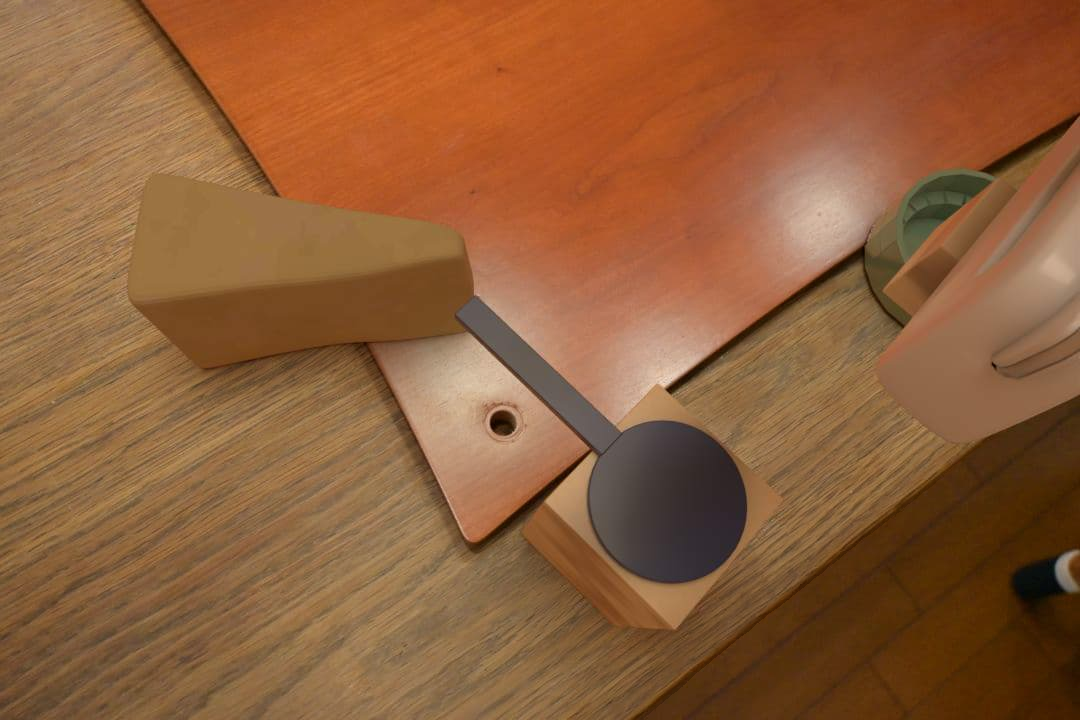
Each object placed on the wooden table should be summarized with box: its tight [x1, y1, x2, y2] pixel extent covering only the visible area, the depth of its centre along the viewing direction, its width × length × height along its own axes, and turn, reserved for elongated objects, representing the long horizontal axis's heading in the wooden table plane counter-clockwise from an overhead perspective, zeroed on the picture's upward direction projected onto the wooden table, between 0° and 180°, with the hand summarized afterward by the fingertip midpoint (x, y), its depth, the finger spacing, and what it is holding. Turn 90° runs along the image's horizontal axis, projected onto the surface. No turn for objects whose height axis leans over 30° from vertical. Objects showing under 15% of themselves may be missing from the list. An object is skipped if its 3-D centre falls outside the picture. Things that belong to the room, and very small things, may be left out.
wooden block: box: [883, 176, 1019, 317], centre depth 32 cm, size 4×4×4 cm
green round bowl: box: [864, 167, 998, 327], centre depth 69 cm, size 14×14×6 cm
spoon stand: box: [455, 294, 785, 631], centre depth 54 cm, size 21×10×19 cm, turn 47°
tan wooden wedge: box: [126, 172, 475, 369], centre depth 58 cm, size 22×10×15 cm, turn 91°
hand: (969, 279), depth 33 cm, fingers closed on wooden block, 4 cm apart
